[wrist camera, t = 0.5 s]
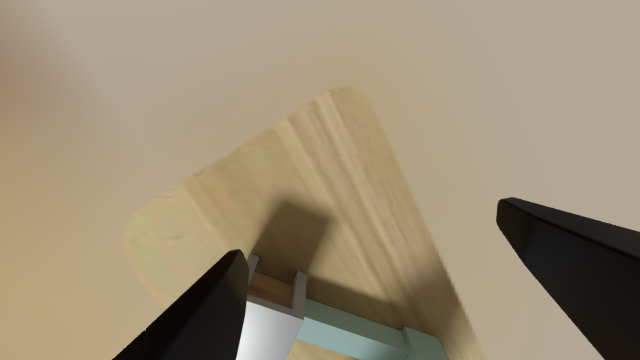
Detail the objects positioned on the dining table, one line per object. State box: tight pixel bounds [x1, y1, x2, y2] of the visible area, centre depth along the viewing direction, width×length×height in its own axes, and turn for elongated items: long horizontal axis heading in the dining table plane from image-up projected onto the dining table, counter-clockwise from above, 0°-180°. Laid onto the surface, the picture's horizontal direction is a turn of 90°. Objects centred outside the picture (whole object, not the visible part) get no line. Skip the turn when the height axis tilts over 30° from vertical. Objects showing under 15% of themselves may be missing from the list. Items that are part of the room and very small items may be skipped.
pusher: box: [296, 298, 449, 360], centre depth 26 cm, size 4×16×5 cm, turn 68°
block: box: [247, 272, 293, 309], centre depth 25 cm, size 4×4×4 cm
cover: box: [236, 254, 307, 360], centre depth 24 cm, size 8×6×6 cm
